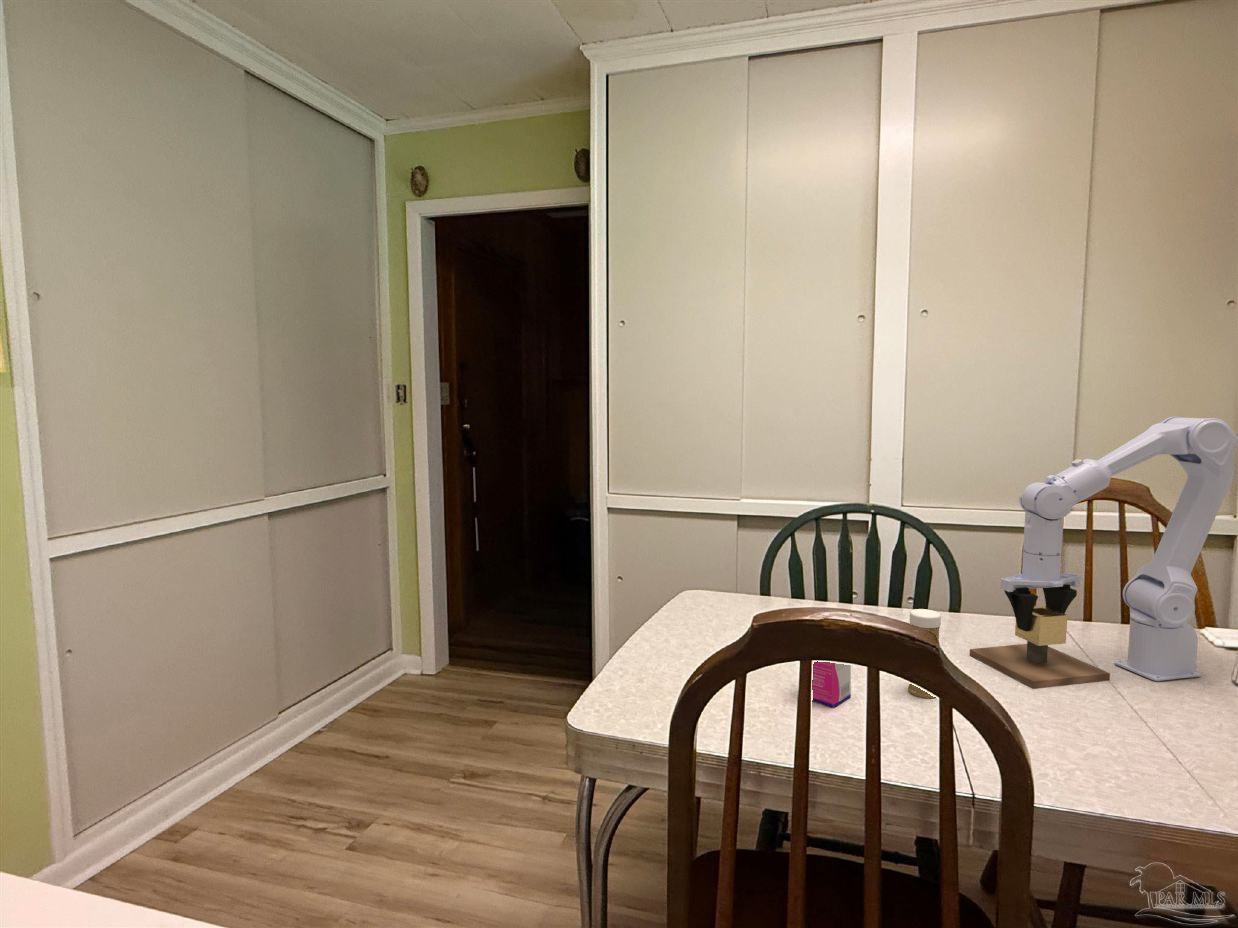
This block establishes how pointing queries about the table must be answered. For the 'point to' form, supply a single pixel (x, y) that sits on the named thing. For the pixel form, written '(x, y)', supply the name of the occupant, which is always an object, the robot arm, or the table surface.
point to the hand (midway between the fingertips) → (1038, 628)
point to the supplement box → (831, 683)
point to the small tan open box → (1045, 627)
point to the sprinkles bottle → (929, 622)
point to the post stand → (1039, 665)
